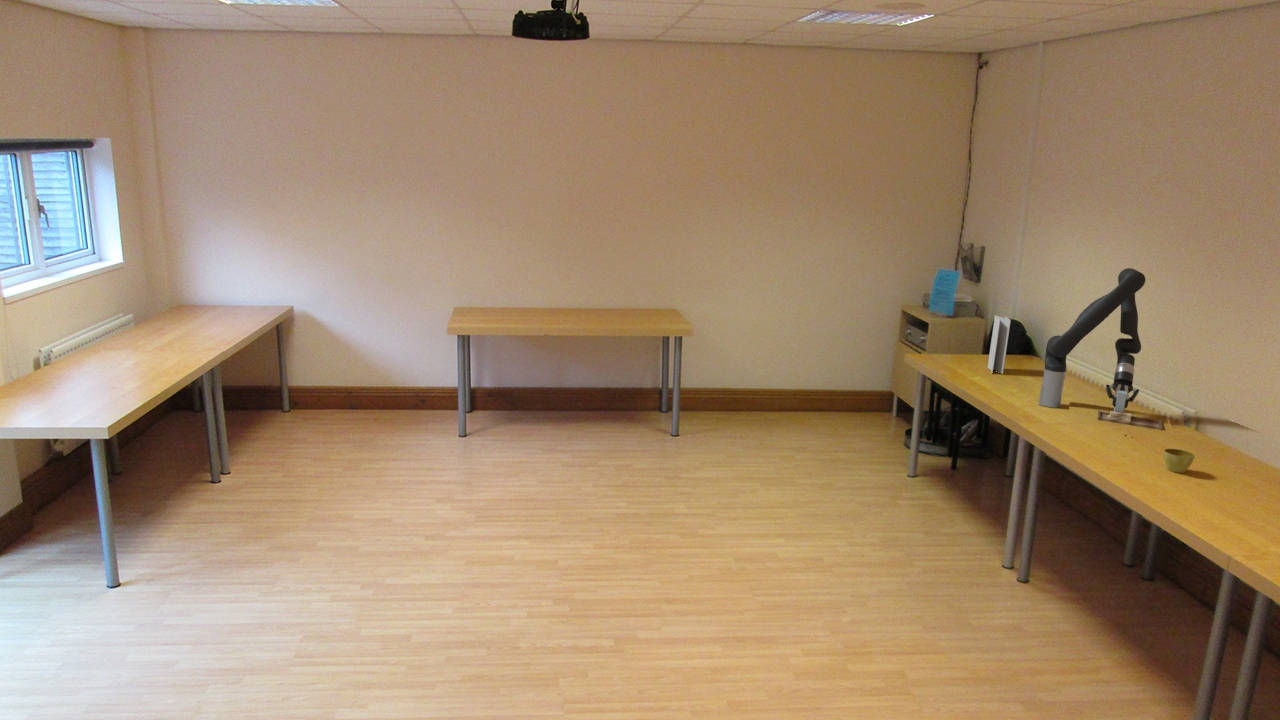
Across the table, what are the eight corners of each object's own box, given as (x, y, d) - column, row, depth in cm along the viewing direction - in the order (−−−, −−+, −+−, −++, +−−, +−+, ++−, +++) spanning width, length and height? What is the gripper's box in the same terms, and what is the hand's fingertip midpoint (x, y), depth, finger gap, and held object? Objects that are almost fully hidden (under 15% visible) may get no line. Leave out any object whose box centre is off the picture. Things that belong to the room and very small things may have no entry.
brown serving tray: (1097, 423, 391) (1098, 417, 390) (1097, 416, 402) (1098, 411, 402) (1161, 433, 380) (1163, 427, 380) (1160, 426, 392) (1161, 420, 391)
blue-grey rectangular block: (1113, 416, 393) (1118, 392, 390) (1113, 413, 398) (1117, 390, 395) (1122, 417, 392) (1126, 394, 389) (1121, 414, 396) (1126, 391, 394)
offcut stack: (1106, 420, 390) (1108, 412, 389) (1106, 419, 393) (1108, 410, 392) (1129, 424, 386) (1131, 415, 385) (1129, 422, 389) (1131, 413, 388)
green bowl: (1154, 465, 336) (1158, 447, 335) (1179, 466, 337) (1183, 448, 336) (1172, 475, 327) (1175, 456, 325) (1197, 475, 328) (1201, 457, 326)
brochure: (1002, 374, 476) (1010, 320, 469) (992, 374, 477) (999, 319, 470) (997, 369, 489) (1005, 316, 483) (987, 368, 490) (994, 315, 484)
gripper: (1107, 368, 400) (1103, 399, 392) (1143, 373, 394) (1139, 405, 386) (1105, 377, 406) (1100, 408, 398) (1140, 382, 399) (1136, 414, 392)
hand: (1119, 406), depth 392 cm, fingers closed on blue-grey rectangular block, 3 cm apart
